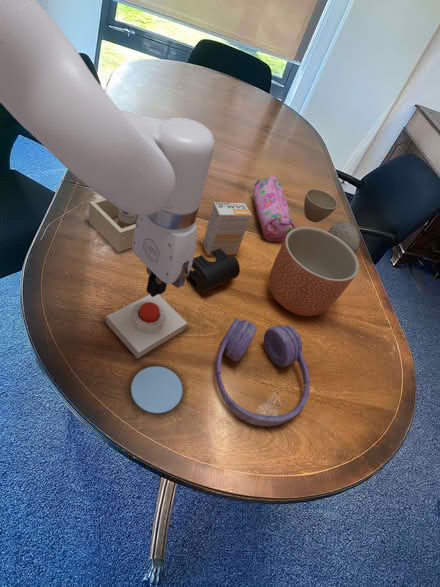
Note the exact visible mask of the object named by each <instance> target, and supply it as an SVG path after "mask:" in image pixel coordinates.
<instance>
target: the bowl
mask: <svg viewBox="0 0 440 587" xmlns="http://www.w3.org/2000/svg"><path fill="white" fill-rule="evenodd" d="M338 203H339V202H338V201H337V199H336V198H335V197H334V196H333V195H332V194H331V193H329V192H327V191H325V190H322V189H319V188H310V189H308V190H307V191H306V193H305V196H304V202H303V212H304V217H305V218H306V219H307V220H308V221H310V222H312V223H319V222H322V221H323V220H325V219H326V218H328V217H329V216H330V215H332V213H333V212H334V211H335V210H336V209H337V207H338V206H339V204H338Z"/></svg>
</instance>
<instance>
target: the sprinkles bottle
mask: <svg viewBox="0 0 440 587" xmlns="http://www.w3.org/2000/svg"><path fill="white" fill-rule="evenodd" d="M137 218H138V216H137V215H135V214H131V213H128V212H125V211H123V210H121V209H119V210H118V216H117V223H116V224H117V225H118V226H119V227H120V228H121V229H122V228H125V227H128V226H131V225H134V224H136V222H137Z"/></svg>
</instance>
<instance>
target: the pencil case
mask: <svg viewBox="0 0 440 587" xmlns="http://www.w3.org/2000/svg"><path fill="white" fill-rule="evenodd" d="M253 186H254V188H253V191H252V192H253V193H252V195H253V201H254V206H255V211H256V214H257V218H258V221H259V225H260V227H261V230H262V234H263V237H264V238H265V239H266V240H267V241H268V242H281V241H284V240H285V238H286V236H287V234H288V233H289V232H290V231H291V230H293V229H295V228H296V224H295V222H294V221H293V219H292V217H291V216H290V208H289V205H288V201H287V199H286V196H285V193H284V187H283V185H282V183H281V182H280V181H279V180H278V178H277V177H276V176H272V175H269V176H268V178H266V179H263V180H260V179H257V181H255V183H254V185H253Z"/></svg>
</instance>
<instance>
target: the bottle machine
mask: <svg viewBox="0 0 440 587" xmlns="http://www.w3.org/2000/svg"><path fill="white" fill-rule="evenodd" d="M118 210H119V208H117V207H116V206H114V205H113V204H112V203H110V202H109V201H107V200H106V199H105V198H103V197H102V198H98V199H94V200H91V201H89V202H88V224H90V225H91V226H92V227H93V228H94V230H96V232H98V234H99V235H100V236H101V237H102V238H103V239H104V240H105V241H106V242H107V243H108V244H109V245H110V246H111V247H112V248H113V249H114V250H115V251H116V252H117V253H121V252H124V251H127V250H129V249H131V248H132V243H133V236H134V231H135V226H136V224H134V225H131V226H128V227H125V228H122V229H121V228H120V227H119V226H118V225H117V224H118V223H116V222H115V220H114V219H113V218H116V217H117V218H118ZM137 217H138V215H137Z"/></svg>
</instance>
